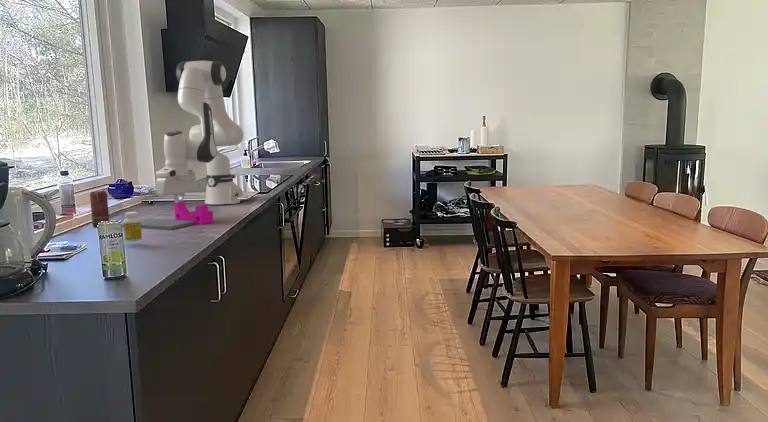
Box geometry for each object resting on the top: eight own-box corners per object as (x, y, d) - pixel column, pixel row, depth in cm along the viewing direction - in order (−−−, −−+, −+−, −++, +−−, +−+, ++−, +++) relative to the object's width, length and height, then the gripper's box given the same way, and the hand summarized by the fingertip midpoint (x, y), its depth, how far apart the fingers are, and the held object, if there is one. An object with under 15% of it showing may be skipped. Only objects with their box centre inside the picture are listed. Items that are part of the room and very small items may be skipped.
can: (92, 228, 227) (89, 192, 225) (92, 225, 232) (89, 191, 230) (109, 226, 229) (106, 191, 227) (109, 224, 235) (106, 190, 233)
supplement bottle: (131, 242, 197) (129, 214, 196) (121, 240, 200) (119, 213, 198) (145, 239, 201) (143, 212, 200) (135, 238, 204) (133, 211, 203)
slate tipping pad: (150, 221, 242) (150, 218, 241) (195, 224, 232) (195, 221, 232) (123, 226, 229) (123, 223, 229) (170, 229, 220) (170, 226, 219)
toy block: (213, 221, 236) (212, 203, 235) (201, 224, 231) (200, 206, 229) (187, 218, 243) (185, 200, 242) (175, 220, 238) (174, 202, 237)
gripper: (188, 168, 249) (190, 200, 251) (152, 172, 230) (155, 207, 232) (200, 169, 246) (202, 201, 248) (164, 173, 228) (167, 207, 230)
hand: (179, 204), depth 240 cm, fingers closed
